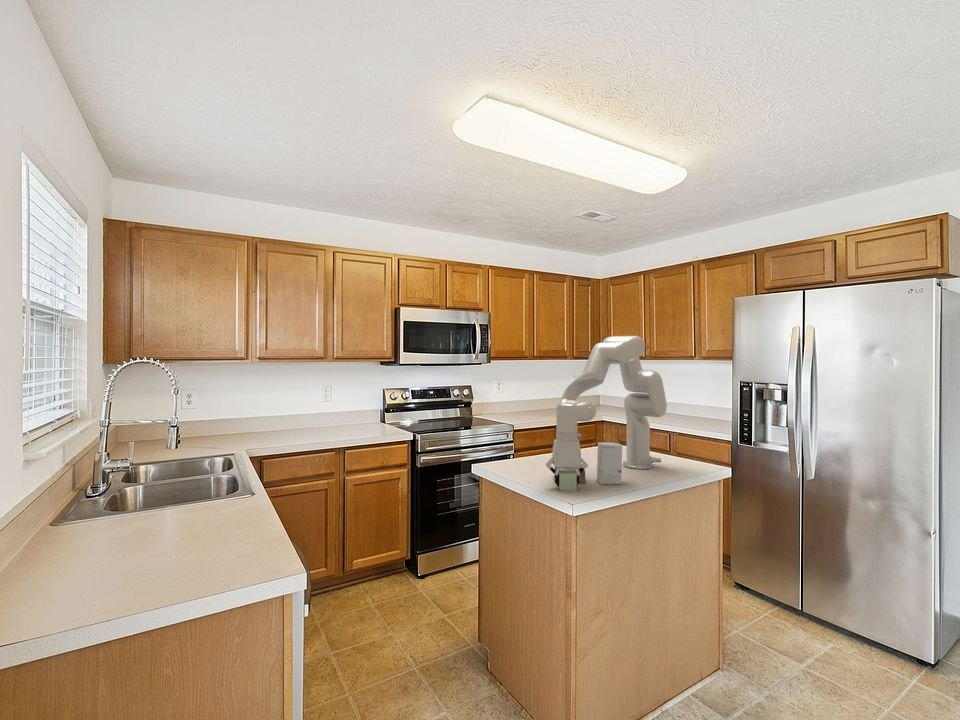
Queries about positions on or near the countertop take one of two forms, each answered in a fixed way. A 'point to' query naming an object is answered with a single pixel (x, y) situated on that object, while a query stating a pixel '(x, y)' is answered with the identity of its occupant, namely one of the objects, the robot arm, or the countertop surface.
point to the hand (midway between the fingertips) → (566, 484)
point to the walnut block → (581, 476)
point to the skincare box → (609, 463)
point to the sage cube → (567, 480)
